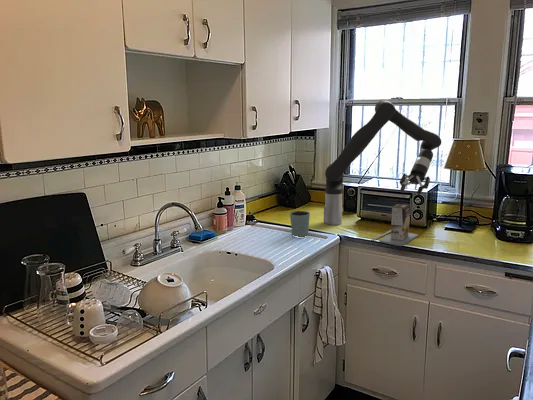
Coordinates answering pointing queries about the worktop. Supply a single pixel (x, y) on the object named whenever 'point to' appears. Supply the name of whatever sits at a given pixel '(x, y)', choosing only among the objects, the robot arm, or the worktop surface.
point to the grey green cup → (300, 223)
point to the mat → (398, 242)
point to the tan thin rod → (381, 235)
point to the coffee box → (400, 221)
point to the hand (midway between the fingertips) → (409, 192)
